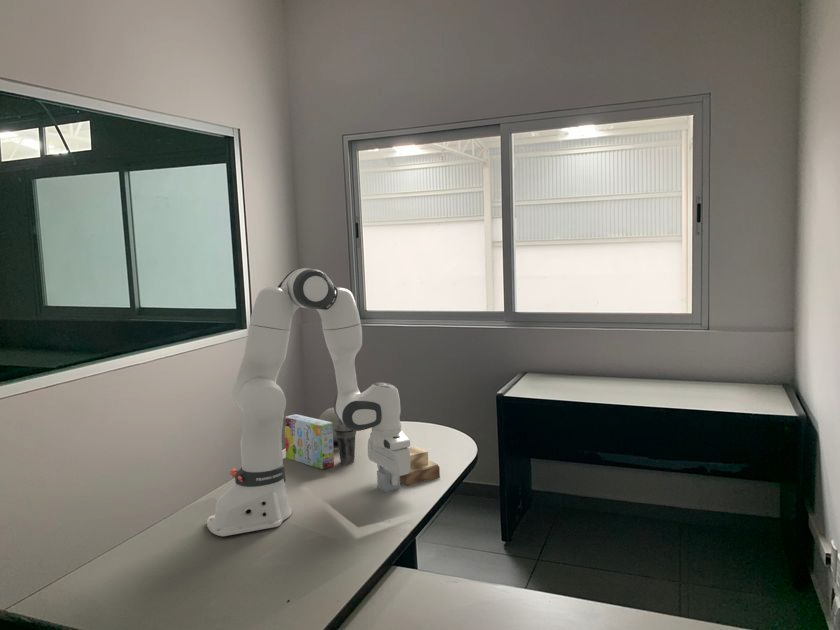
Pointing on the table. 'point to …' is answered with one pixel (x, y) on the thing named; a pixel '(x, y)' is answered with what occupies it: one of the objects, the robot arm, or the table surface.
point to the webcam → (331, 417)
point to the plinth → (421, 473)
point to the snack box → (309, 441)
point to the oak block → (418, 457)
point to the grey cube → (386, 480)
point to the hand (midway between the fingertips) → (388, 481)
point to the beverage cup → (345, 443)
